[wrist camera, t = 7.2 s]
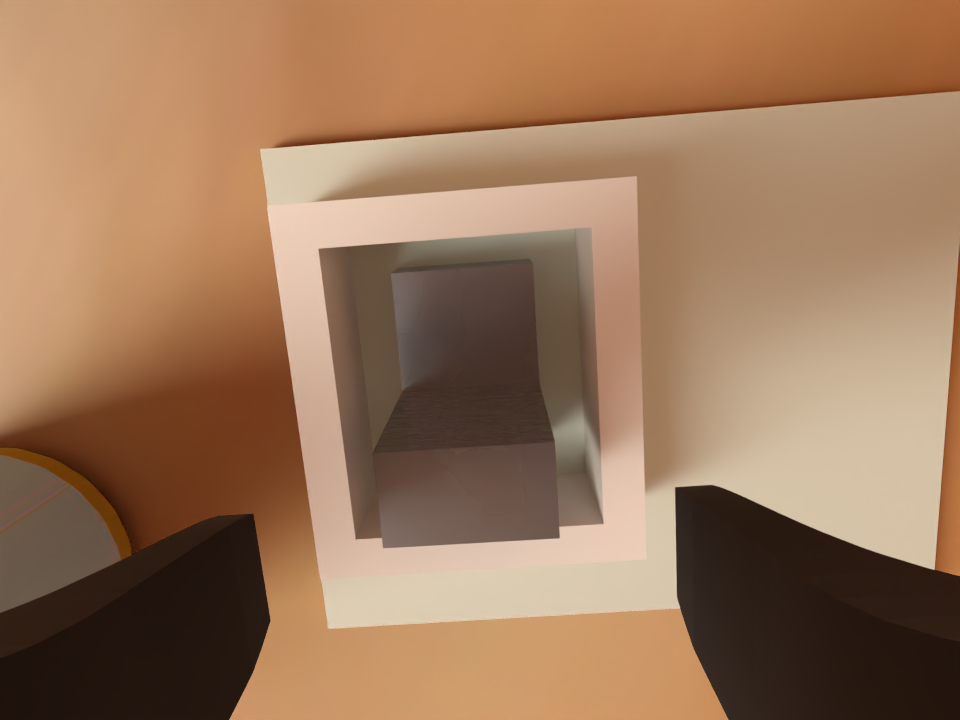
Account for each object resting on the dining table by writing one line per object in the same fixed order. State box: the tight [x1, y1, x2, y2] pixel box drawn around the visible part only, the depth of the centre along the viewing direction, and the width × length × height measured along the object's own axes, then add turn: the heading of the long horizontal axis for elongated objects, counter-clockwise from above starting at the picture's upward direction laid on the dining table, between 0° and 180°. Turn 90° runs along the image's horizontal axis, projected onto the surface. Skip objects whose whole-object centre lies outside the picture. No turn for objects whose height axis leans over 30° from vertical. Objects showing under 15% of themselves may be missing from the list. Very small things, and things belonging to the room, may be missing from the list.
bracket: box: [372, 259, 560, 548], centre depth 16 cm, size 5×4×6 cm
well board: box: [260, 91, 960, 629], centre depth 18 cm, size 14×18×4 cm
